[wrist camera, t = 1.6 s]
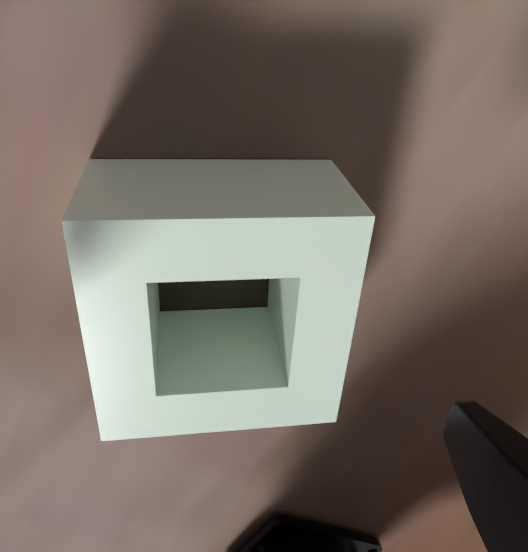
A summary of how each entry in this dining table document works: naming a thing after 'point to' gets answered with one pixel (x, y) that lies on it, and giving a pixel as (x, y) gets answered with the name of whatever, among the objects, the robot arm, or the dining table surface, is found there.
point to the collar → (212, 267)
